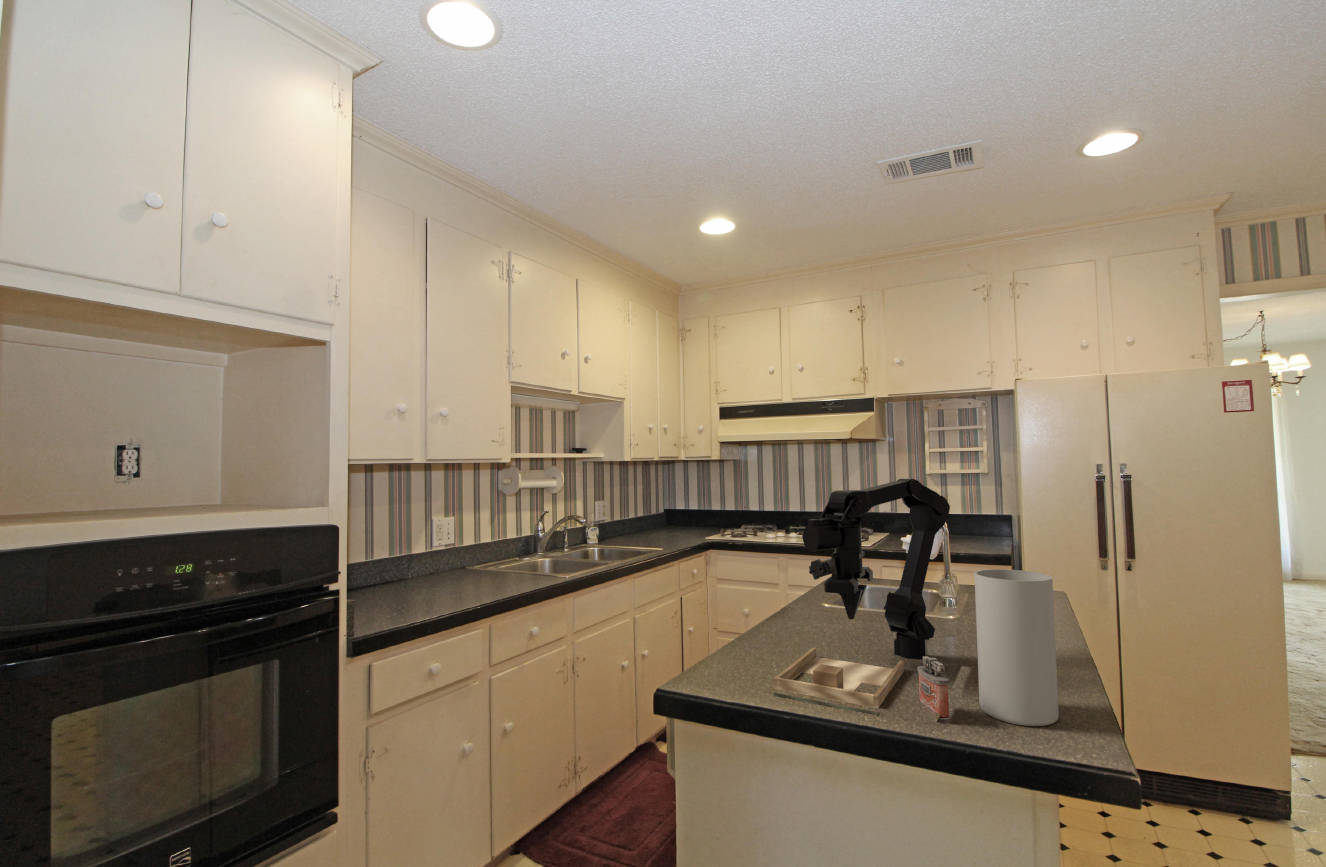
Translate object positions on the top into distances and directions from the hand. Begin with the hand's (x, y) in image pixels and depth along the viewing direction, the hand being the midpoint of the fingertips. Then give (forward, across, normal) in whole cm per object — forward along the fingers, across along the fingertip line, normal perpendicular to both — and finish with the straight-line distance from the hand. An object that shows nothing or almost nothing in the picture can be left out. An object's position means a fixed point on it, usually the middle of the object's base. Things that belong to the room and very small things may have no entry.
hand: (851, 618), depth 137 cm
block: (+10, +18, 0) cm, 21 cm away
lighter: (+12, +16, +18) cm, 27 cm away
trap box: (+12, +10, 0) cm, 15 cm away
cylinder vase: (+12, +8, +32) cm, 35 cm away
